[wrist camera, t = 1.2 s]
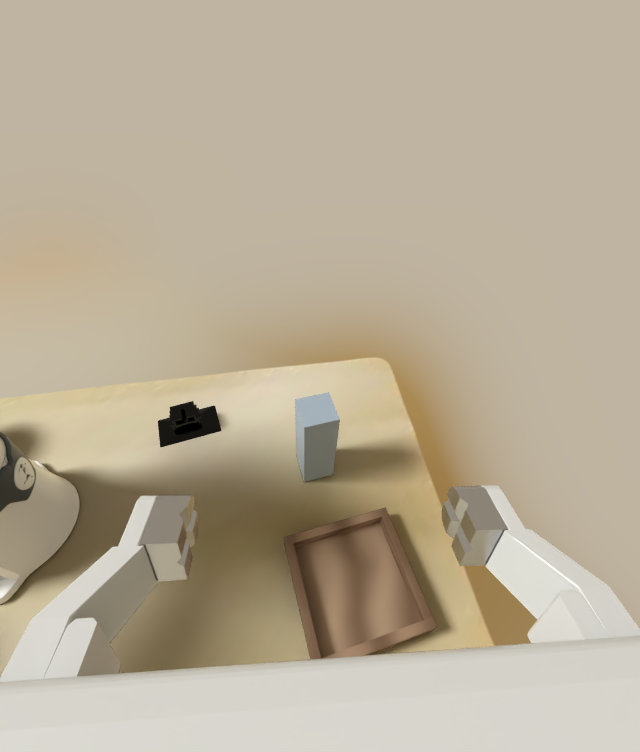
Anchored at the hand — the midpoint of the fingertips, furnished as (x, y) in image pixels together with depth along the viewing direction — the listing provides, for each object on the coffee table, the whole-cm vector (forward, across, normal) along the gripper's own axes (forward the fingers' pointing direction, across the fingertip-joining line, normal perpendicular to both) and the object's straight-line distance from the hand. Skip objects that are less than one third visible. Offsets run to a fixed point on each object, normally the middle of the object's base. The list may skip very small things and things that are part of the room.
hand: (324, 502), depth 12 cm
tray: (+16, +7, -36) cm, 40 cm away
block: (+32, +3, -32) cm, 45 cm away
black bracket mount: (+40, -17, -32) cm, 54 cm away
